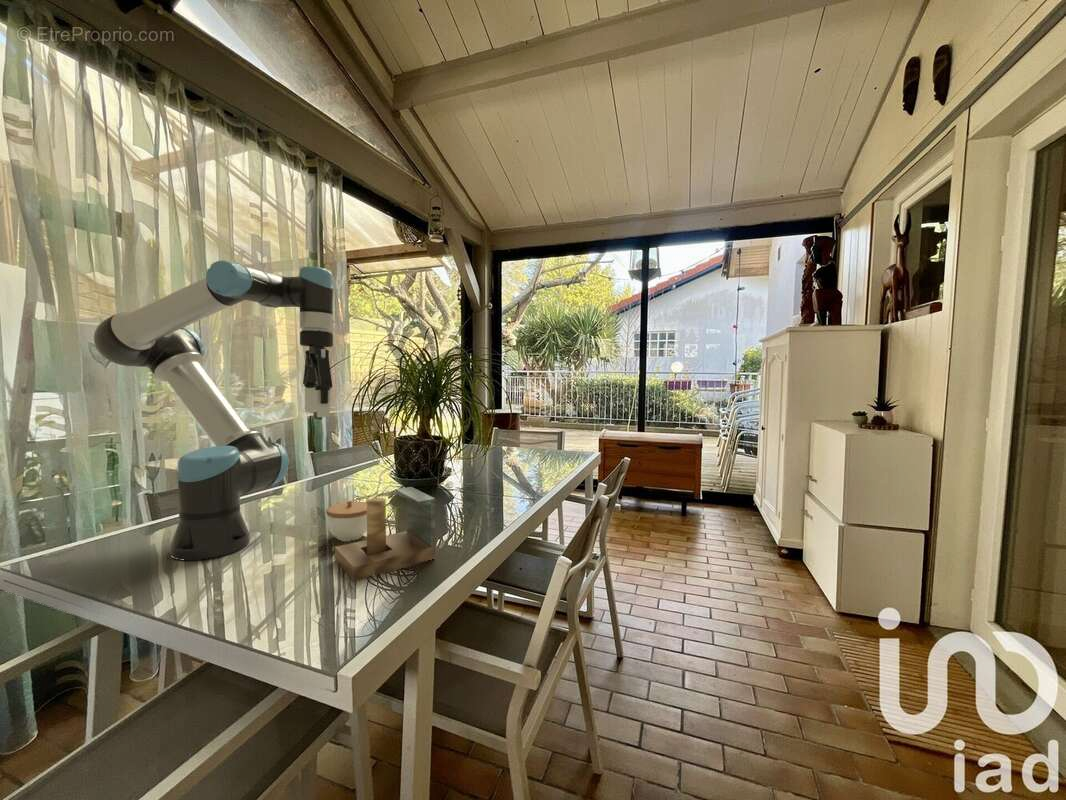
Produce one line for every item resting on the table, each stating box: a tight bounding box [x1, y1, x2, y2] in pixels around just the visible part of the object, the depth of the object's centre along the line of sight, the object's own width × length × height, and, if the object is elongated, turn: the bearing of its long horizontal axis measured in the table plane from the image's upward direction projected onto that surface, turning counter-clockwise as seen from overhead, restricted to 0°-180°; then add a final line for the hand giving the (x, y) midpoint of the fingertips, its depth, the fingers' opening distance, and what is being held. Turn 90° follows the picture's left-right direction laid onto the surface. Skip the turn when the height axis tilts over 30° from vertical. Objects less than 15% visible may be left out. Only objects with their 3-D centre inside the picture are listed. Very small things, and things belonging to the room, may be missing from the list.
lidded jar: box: [326, 500, 367, 542], centre depth 113 cm, size 11×11×9 cm
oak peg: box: [366, 497, 387, 556], centre depth 98 cm, size 4×4×14 cm
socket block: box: [334, 486, 436, 582], centre depth 100 cm, size 18×13×14 cm
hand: (316, 414), depth 113 cm, fingers open, 13 cm apart
